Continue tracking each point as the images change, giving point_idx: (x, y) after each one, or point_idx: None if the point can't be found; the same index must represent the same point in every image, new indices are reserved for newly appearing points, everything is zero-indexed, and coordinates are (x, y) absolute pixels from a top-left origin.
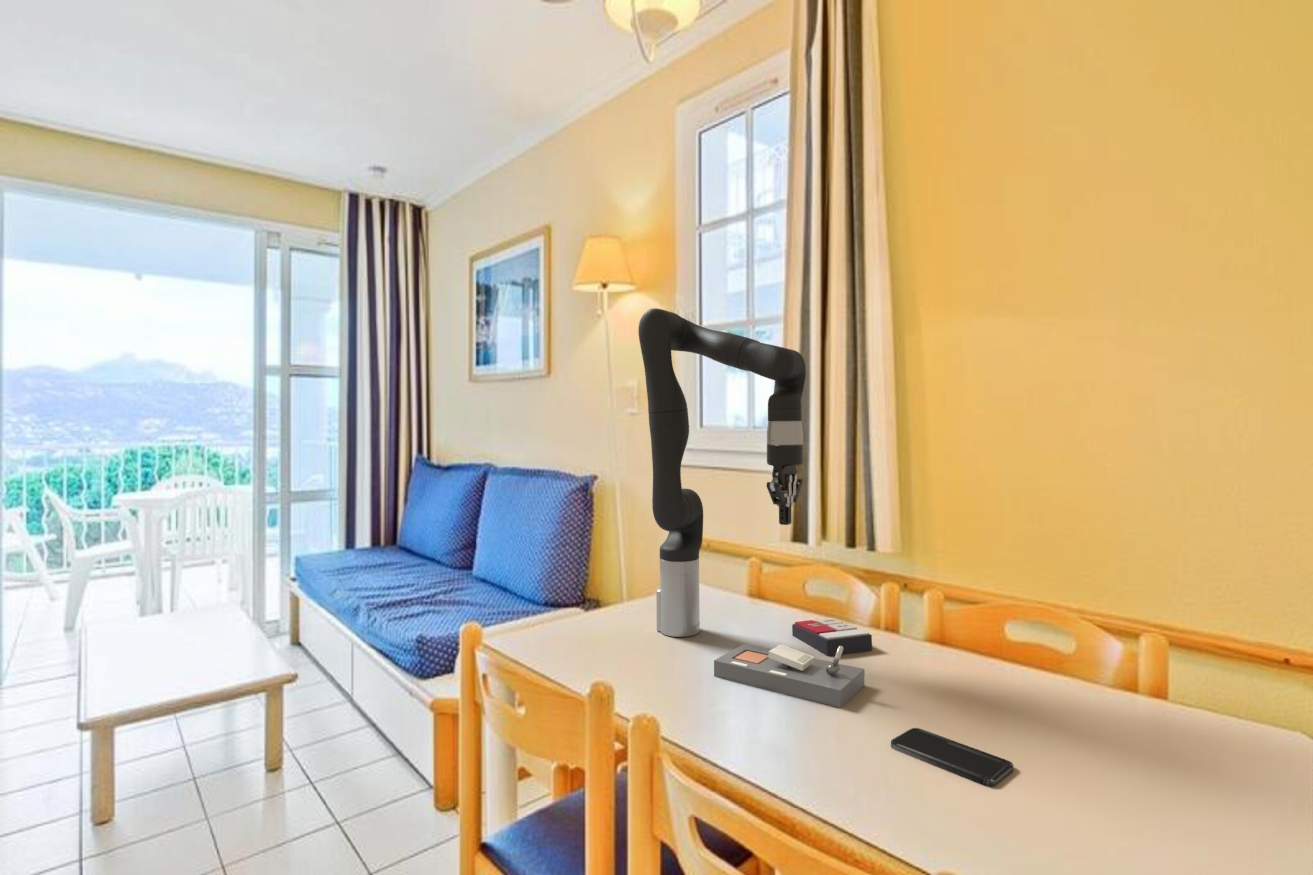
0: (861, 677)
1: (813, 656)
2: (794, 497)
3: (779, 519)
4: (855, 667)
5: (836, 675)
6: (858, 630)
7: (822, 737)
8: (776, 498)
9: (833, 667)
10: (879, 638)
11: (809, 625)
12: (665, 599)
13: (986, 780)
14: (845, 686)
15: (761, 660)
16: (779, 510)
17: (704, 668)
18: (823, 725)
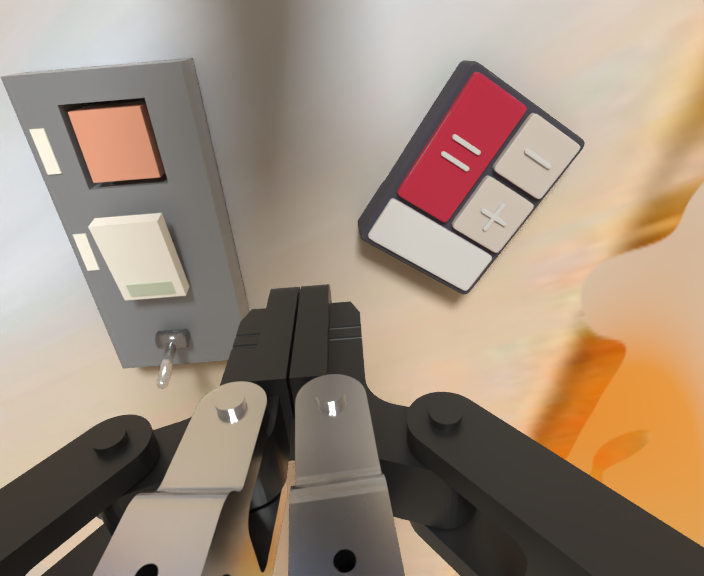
0: None
1: (185, 293)
2: (428, 539)
3: (242, 323)
4: None
5: None
6: (476, 264)
7: (25, 370)
8: (107, 499)
9: (162, 348)
10: (553, 257)
11: (453, 138)
12: None
13: (97, 516)
14: (149, 365)
15: (116, 179)
16: (222, 380)
17: (37, 10)
18: (58, 356)
